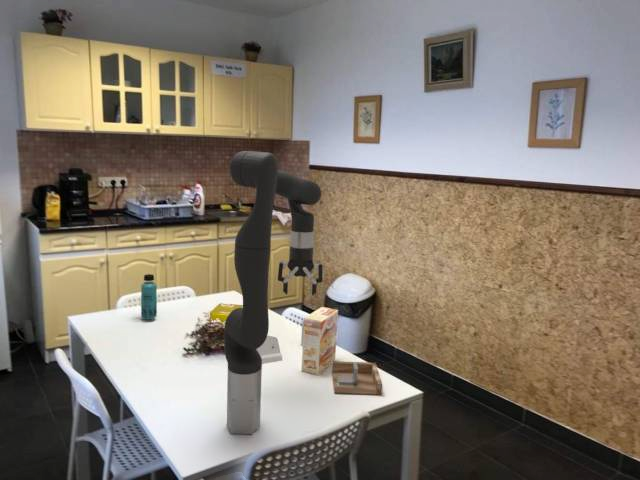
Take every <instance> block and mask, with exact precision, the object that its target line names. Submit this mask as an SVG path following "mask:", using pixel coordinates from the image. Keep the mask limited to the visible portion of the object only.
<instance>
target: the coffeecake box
mask: <svg viewBox="0 0 640 480" xmlns="http://www.w3.org/2000/svg"><path fill="white" fill-rule="evenodd" d="M338 317H339V310H338V309H336V308H335V309H334V308H331V307H325V306H321V307H319V308H318V309H316V310H315V311H313V312H311V313H310V314H309V315H307V316H305V317H304V318H303V320H304V331H303V346H302V353H301V356H302V357H301V372H306V373H308V374H312V375H316V376H320V375H321V374H322V373H323V372H324V371H326V370H327V368H328V367H330V366H331V364H333V363H332V362H333V361H336V348H337V335H338V322H339V321H338V319H339V318H338Z"/></svg>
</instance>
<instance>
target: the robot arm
mask: <svg viewBox="0 0 640 480" xmlns="http://www.w3.org/2000/svg"><path fill="white" fill-rule="evenodd" d="M229 173H230V177H231V179H232V181H233V182H234V183H235V184H237V185H238V186H241V187H242V188H243V187H244V188H252V189H256V190H255V198H254V205H253V208H252V210H251V212H250V213H249V215H248V217H247V218H246V220H245V221H244V223H243V224H242V225H241V226H240V228H239V230H238V232H237V234H236V237H235V240H234V253H233V254H234V257H233V259H234V262H233V263H234V269H235V273H236V277H237V280H238V283H239V287H240V290H241V295H242V305H243V308H237V309H235V310H233V311H232V312H231V313H230V314H229V315H228V317H227V319H226V322H225V323H224V330H223V331H224V333H223V334H224V335H223V336H224V339H223V342H224V356H225V360H226V362H227V385H226V387H227V391H226V398H227V399H226V427H227V429H228V430H229V433H230V434H232V435H233V434H237V435H238V434H239V435H243V434H244V435H254V433H255V431H257V430H258V429H259V428H260V427H261V412H262V411H261V407H262V406H261V405H262V404H261V402H262V401H261V400H262V376H263V375H262V372H263V371H262V370H263V364H262V358H261V356H260V354H259V353H258V351H257V348H259V347H260V346H261V345H262V344H263V343H264V342H265V340H266V338H267V335H269V329H270V327H269V326H270V323H269V321H270V320H269V301H268V300H269V297H268V296H269V270H270V260H271V247H272V246H271V242H272V227H273V225H272V224H273V223H272V222H273V211H274V205H275V197H276V195H278V196H281V197H283V198H285V199H287V202H288V206H289V212H290V215H291V216H290V217H291V225H290V236H289V251H288V252H289V254H288V257H289V258H288V259H289V260H288V262H284V261H279V264H278V271H277V273H278V274H277V281H278V282H282V283H283V287H282V292H283V293H284V294H285V295H288V291H289V289H288V287H289V286H288V285H289V281H290V279H291V278H293V276H295V278H296V277H303V278H305V277H308V279H309V280H310V281H311V296H315V294H316V293H317V285H318V284H321V283H322V282H323V263H322V262H319V263H314V247H315V246H314V245H315V242H314V241H315V238H314V235H315V234H314V228H315V227H314V225H315V216H314V214H313V213H312V212H309V211H307V210H305V209H304V208H303V206H302V205H308V206H314V205H317V203H319V202H320V200H321V198H322V190H321V187H320V186H319V184H318V183H316V182H315V181H312V180H308V179H304V178H300V177H298V176H297V175H294V174H293V173H290V172H289V171H285V170H281V169H279V163H278V159H277V157H276V156H275V155H274V154H273V153H272V152H266V151H255V150H254V151H253V150H243V151H239V152H237V153H236V154H235V155H233V157H232V159H231V160H230V165H229ZM286 267H287V268H288V270H289V271H288V272H287V274H286V275H285V276H283V270H285V269H286ZM314 269H315V270H316V271H317V272H318V273H317V274H318V278H316V277H315V276H314V273H313V272H312V270H314Z"/></svg>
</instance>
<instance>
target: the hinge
mask: <svg viewBox="0 0 640 480" xmlns="http://www.w3.org/2000/svg"><path fill="white" fill-rule="evenodd" d="M257 351H258V353H259V354H260V356H261V358H262V365H263V364H269V363H275V362H281V361H283V355H282V353H281V347H280V344H279V340H278V338H277V337H276V336H273V335H269V334H268V335H267V338H266V340H265V342H264V343H263V344H262V345H261V346H260V347H259V348H257Z"/></svg>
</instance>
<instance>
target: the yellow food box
mask: <svg viewBox="0 0 640 480" xmlns="http://www.w3.org/2000/svg"><path fill="white" fill-rule="evenodd" d="M237 308H243V304H233V303H224V302H223V303H222V302H221V303H219V304H217V305H216V306H215V307H214V308H213V309H211V310H210V312H209V319H210V318H211V319H212V320H213V321H214V320H216V318H219V320H220V321H221V322H224V321H226V319H227V317H228V315H229V314H230V313H231V312H232V311H233V310H235V309H237Z"/></svg>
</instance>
